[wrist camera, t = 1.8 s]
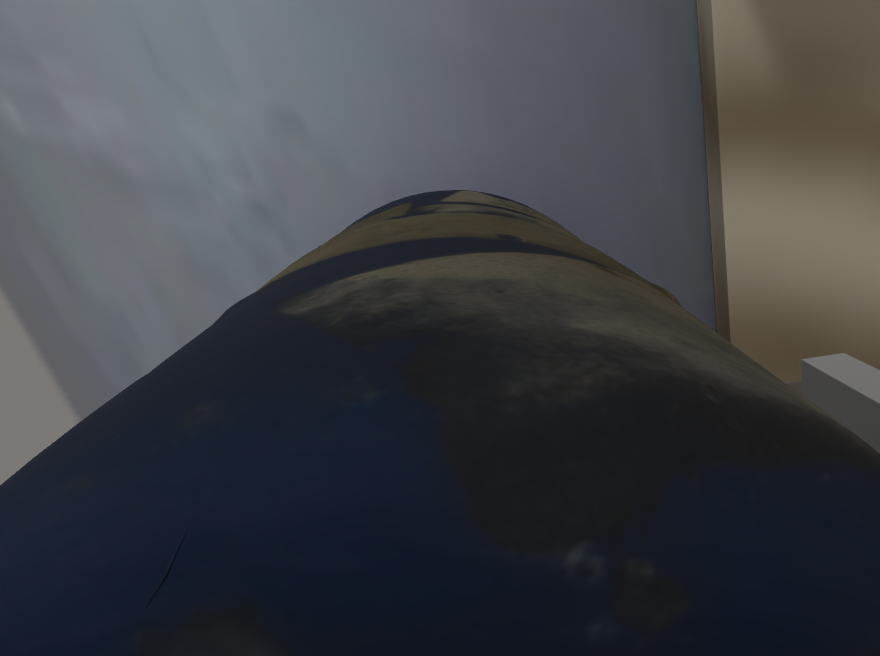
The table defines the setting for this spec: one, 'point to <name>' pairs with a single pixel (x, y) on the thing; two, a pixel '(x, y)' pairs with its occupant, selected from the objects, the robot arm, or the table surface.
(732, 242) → the keeper cradle
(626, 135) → the table surface
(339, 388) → the canister
